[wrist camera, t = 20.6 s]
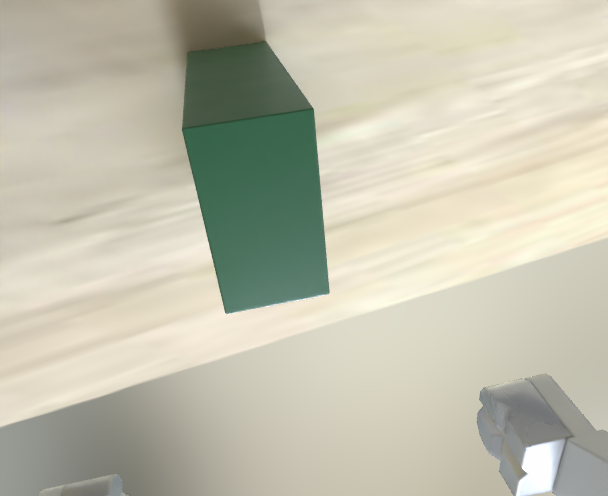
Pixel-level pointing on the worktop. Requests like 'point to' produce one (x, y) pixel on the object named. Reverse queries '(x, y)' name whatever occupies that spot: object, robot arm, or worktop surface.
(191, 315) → the worktop surface
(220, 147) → the block
